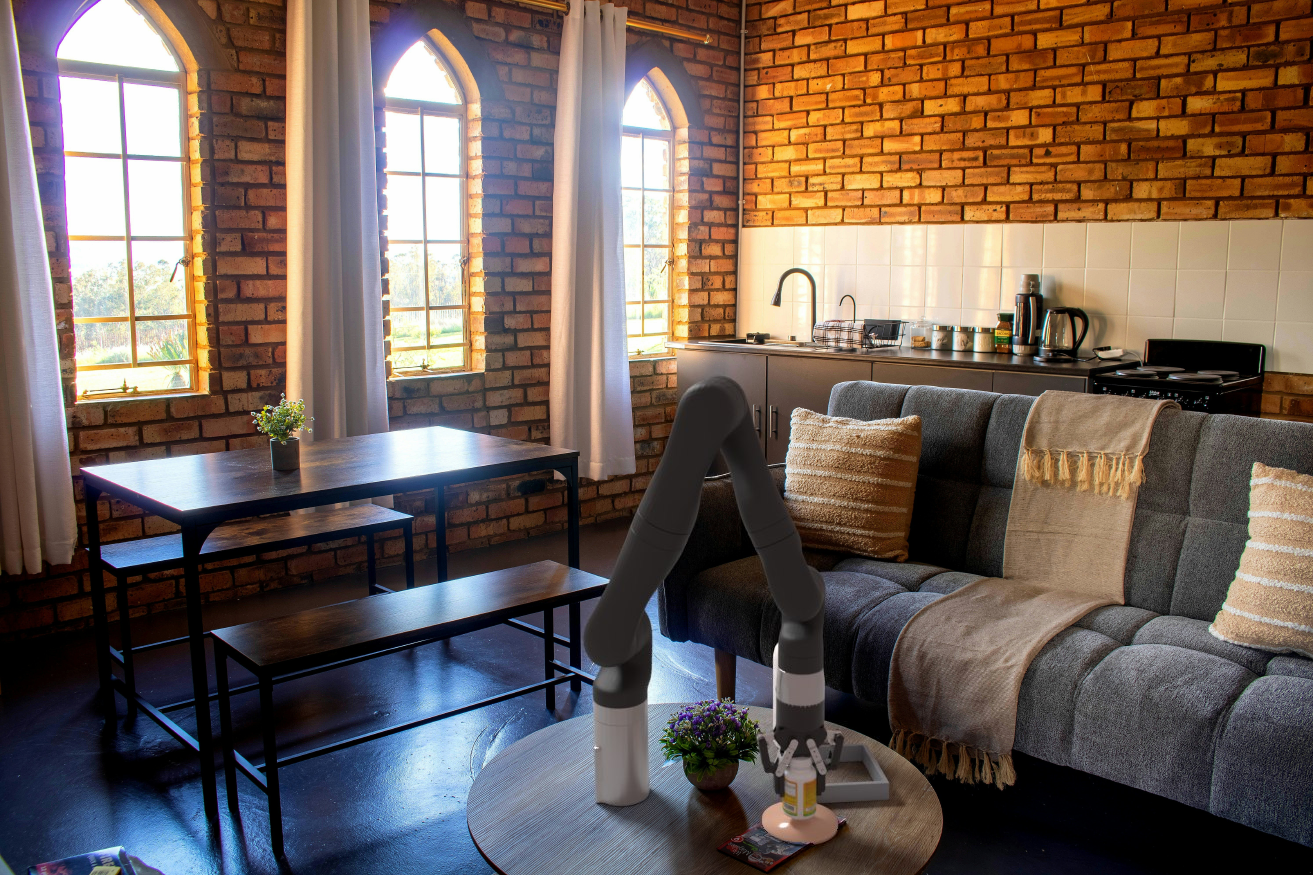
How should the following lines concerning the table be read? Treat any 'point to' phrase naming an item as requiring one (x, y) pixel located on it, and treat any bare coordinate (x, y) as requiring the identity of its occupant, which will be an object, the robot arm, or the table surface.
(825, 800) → the bin
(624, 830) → the table surface
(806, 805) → the supplement bottle
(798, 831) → the plate
